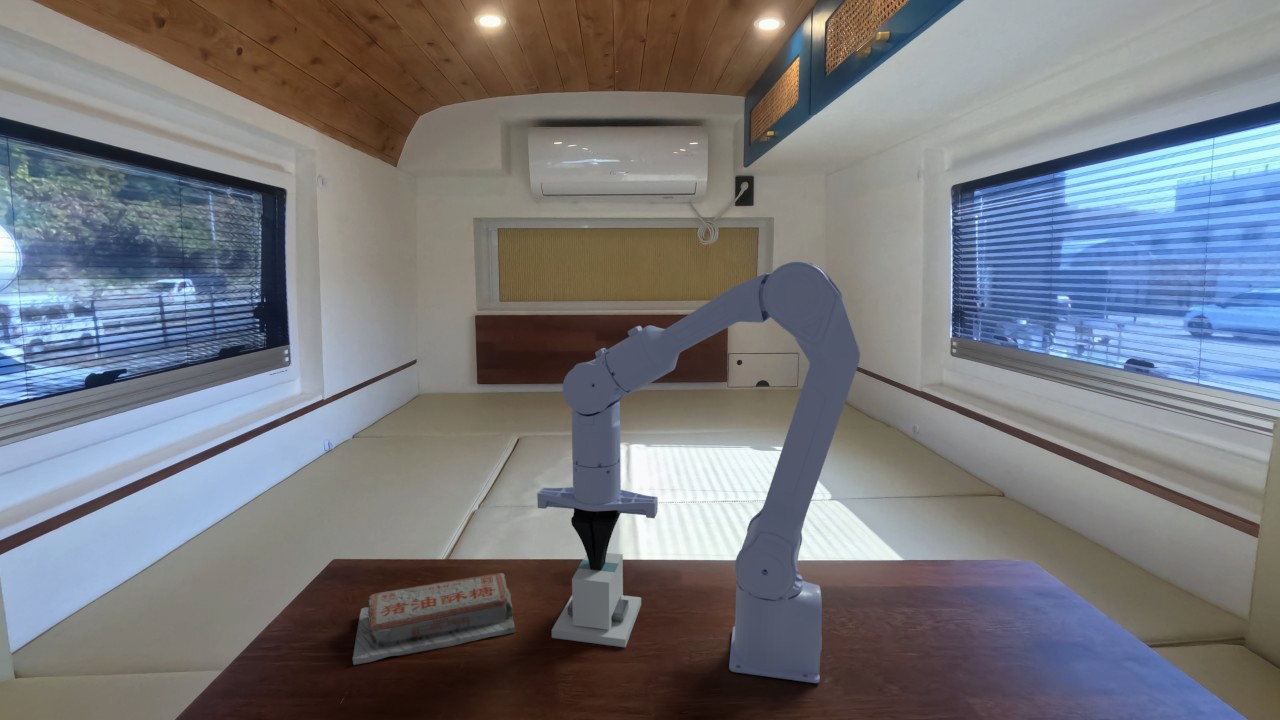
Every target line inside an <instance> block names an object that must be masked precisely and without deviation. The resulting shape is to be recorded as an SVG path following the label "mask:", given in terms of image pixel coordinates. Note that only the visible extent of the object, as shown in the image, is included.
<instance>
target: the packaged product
mask: <svg viewBox="0 0 1280 720" xmlns="http://www.w3.org/2000/svg"><path fill="white" fill-rule="evenodd" d="M507 586H508V585H507V580H506V575H505V574H504V573H502V572H498V573H494V574H491V573H490V574H483V575H479V576H471V577H466V578H465V577H464V578H458V579H453V580H447V581H442V582H433V583H430V584H424V585H417V586H412V587H405V588H399V589H394V590H388V591H387V590H386V591H382V592H376V593H372V594H371V595H370V596H369V597H368V607H363V608H361V609H360V612H359V619H358V625H357V631H356V636H355V643H354V649H353V655H352V662H353V663H352V664H353V666H355V665H360V664H366V663H373V662H375V661H379V660H382V659H385V658H389V657H390V658H391V657H394V656H395V657H397V656H398V657H400V656H404V655H409V654H415V653H420V652H426V651H431V650H436V649H441V648H447V647H448V648H449V647H452V646H457V645H462V644H465V643H470V642H475V641H478V640H483V639H487V638H491V637H497V636H503V635H509V634H513V633H515V632H516V626H515V622H514V617H513V603H512V594H511V592H510V589H509V588H508V587H507Z"/></svg>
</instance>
